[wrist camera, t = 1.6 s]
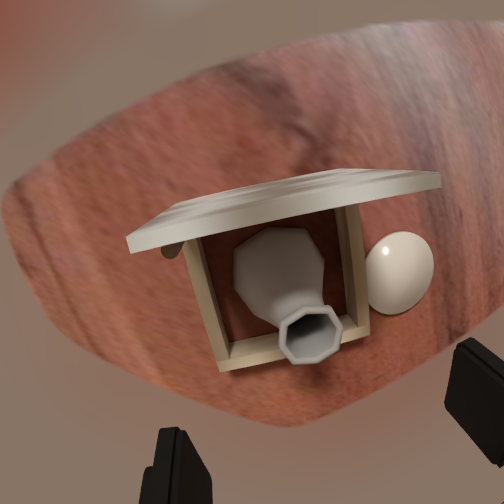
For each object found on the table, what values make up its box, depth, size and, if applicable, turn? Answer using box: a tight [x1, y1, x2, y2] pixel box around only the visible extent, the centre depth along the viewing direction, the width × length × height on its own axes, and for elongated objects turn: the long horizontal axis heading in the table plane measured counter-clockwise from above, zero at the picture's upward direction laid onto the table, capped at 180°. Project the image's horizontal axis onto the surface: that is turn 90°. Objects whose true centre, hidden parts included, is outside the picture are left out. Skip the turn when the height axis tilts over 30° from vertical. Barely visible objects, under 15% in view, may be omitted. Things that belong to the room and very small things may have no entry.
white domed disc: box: [365, 231, 434, 314], centre depth 24 cm, size 7×7×1 cm
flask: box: [232, 227, 344, 365], centre depth 19 cm, size 7×7×10 cm
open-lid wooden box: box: [126, 169, 442, 372], centre depth 18 cm, size 12×13×12 cm
